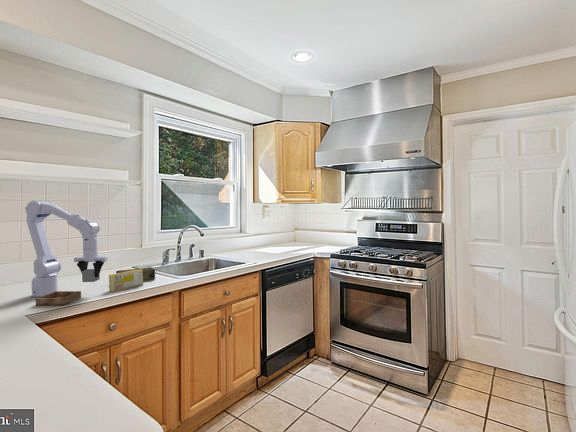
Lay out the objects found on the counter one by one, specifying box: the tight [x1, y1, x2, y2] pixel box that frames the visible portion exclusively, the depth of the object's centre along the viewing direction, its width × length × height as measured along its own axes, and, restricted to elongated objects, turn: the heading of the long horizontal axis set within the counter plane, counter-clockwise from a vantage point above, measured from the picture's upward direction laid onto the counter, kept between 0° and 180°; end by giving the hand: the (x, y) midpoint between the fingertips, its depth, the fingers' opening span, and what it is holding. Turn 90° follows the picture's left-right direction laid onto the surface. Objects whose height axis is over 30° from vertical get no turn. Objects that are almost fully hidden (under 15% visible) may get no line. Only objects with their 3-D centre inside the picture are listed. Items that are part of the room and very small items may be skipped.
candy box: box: [108, 268, 144, 292], centre depth 165 cm, size 16×2×8 cm, turn 141°
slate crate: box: [81, 268, 101, 283], centre depth 151 cm, size 5×5×5 cm
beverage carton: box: [115, 266, 156, 282], centre depth 180 cm, size 8×19×7 cm, turn 125°
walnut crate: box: [35, 290, 82, 307], centre depth 142 cm, size 12×12×3 cm
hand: (91, 277), depth 151 cm, fingers closed on slate crate, 5 cm apart
